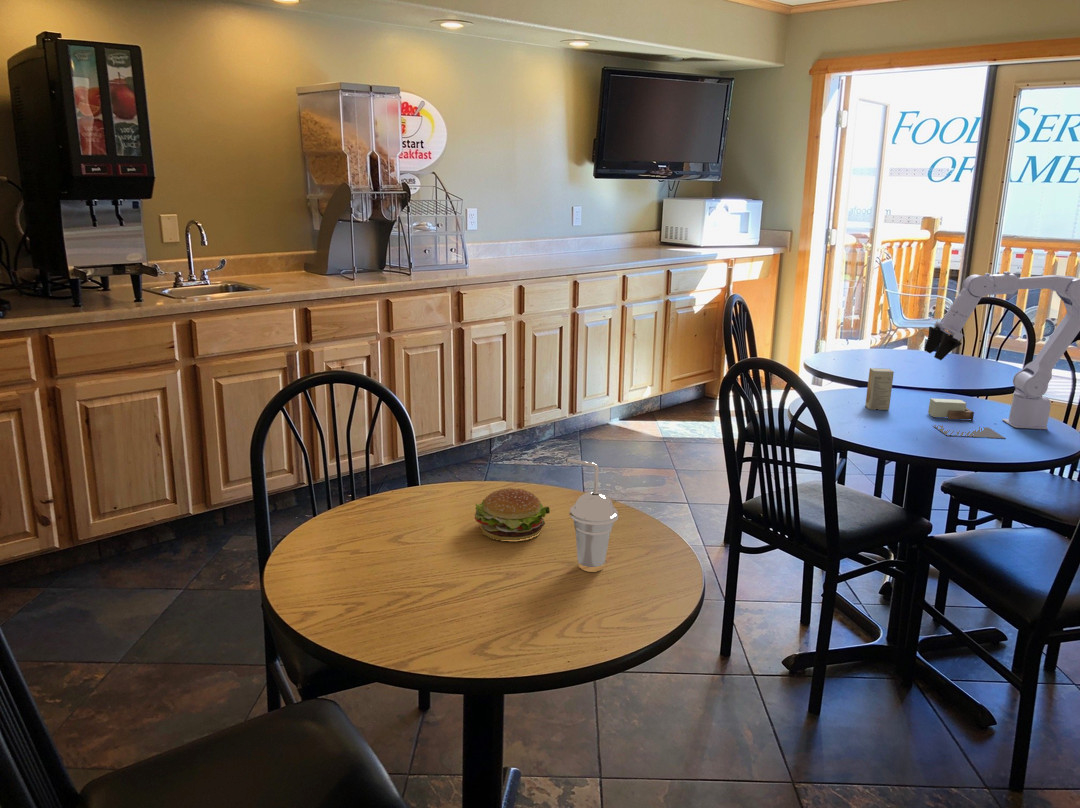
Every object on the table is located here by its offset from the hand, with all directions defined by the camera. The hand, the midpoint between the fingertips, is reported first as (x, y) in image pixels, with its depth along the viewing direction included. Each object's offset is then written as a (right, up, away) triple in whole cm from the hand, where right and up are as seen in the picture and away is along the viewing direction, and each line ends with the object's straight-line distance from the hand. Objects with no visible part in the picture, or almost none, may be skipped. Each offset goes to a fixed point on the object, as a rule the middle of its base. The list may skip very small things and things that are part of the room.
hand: (932, 355), depth 244 cm
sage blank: (+7, -18, +7) cm, 21 cm away
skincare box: (-11, -16, +13) cm, 23 cm away
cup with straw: (-106, -43, -97) cm, 150 cm away
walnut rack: (+10, -18, +7) cm, 22 cm away
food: (-120, -39, -84) cm, 152 cm away
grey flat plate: (+6, -22, -8) cm, 24 cm away
